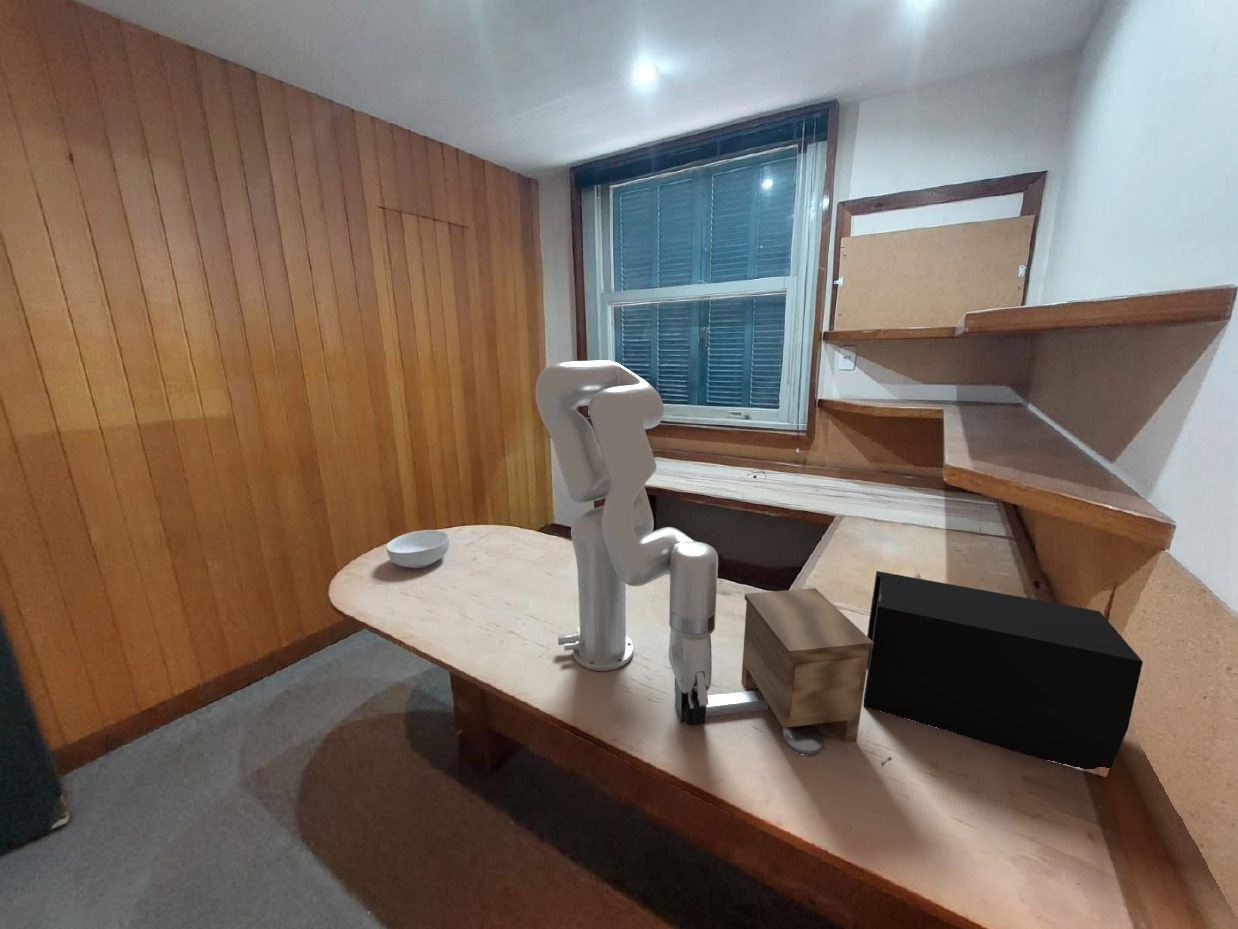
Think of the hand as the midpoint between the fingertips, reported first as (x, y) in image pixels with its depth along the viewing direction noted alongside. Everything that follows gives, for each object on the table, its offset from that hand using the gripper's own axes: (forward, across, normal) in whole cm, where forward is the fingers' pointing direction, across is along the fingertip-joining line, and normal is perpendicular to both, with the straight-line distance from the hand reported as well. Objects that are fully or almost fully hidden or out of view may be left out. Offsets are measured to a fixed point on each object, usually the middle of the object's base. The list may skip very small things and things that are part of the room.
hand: (689, 707), depth 83 cm
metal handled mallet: (+1, 0, +6) cm, 6 cm away
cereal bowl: (+1, -69, -62) cm, 93 cm away
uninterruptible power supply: (+2, +7, +49) cm, 49 cm away
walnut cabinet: (+1, +2, +18) cm, 19 cm away
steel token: (+1, +8, +16) cm, 19 cm away
